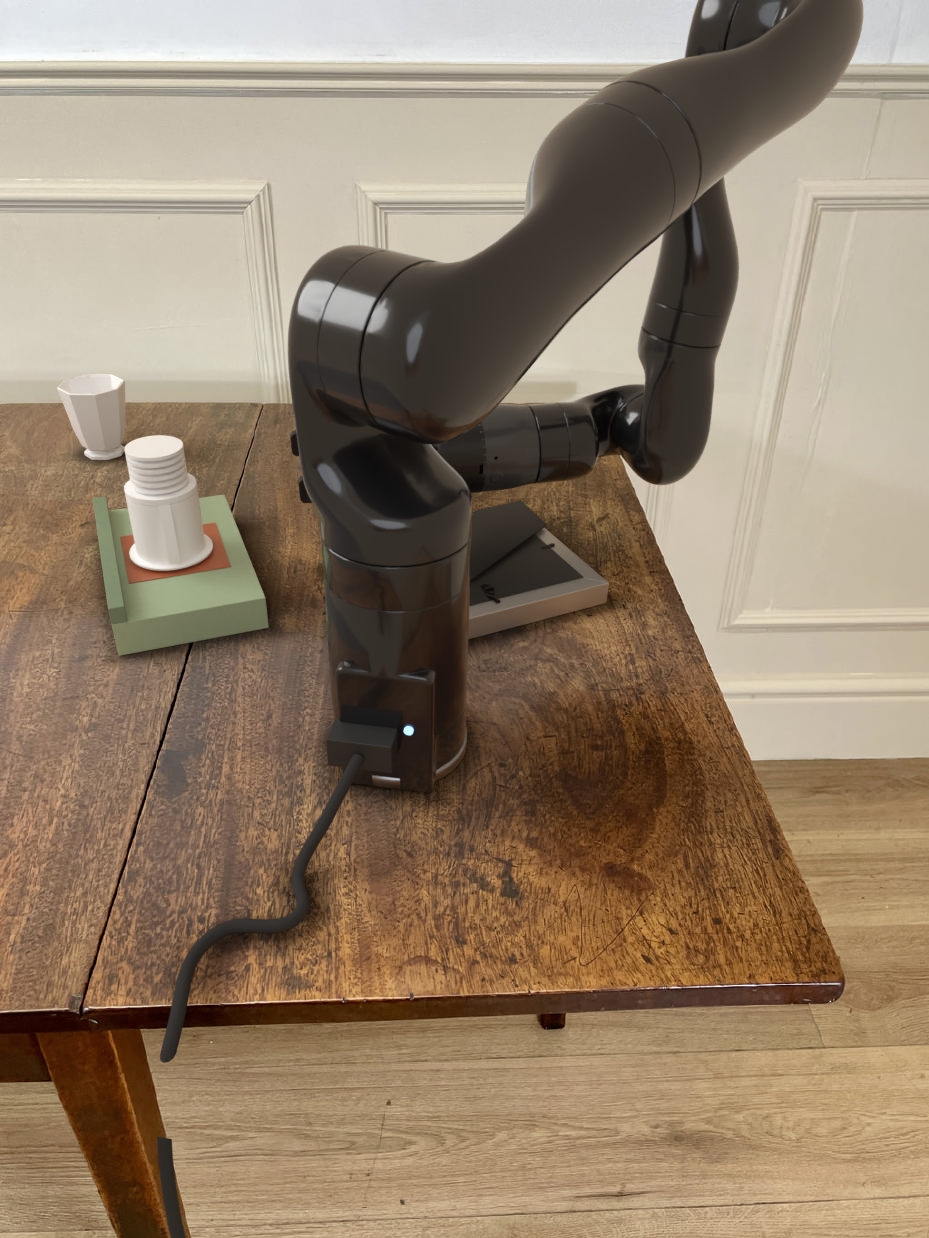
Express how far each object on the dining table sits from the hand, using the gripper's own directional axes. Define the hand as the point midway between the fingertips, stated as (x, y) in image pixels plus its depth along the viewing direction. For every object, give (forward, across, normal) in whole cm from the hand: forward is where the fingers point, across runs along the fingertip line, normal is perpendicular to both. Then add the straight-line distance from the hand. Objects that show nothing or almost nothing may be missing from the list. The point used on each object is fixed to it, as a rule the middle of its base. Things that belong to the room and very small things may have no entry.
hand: (294, 466), depth 80 cm
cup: (+20, -32, +12) cm, 39 cm away
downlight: (+11, 0, +8) cm, 14 cm away
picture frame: (-14, +6, +11) cm, 18 cm away
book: (+11, 0, +10) cm, 15 cm away
